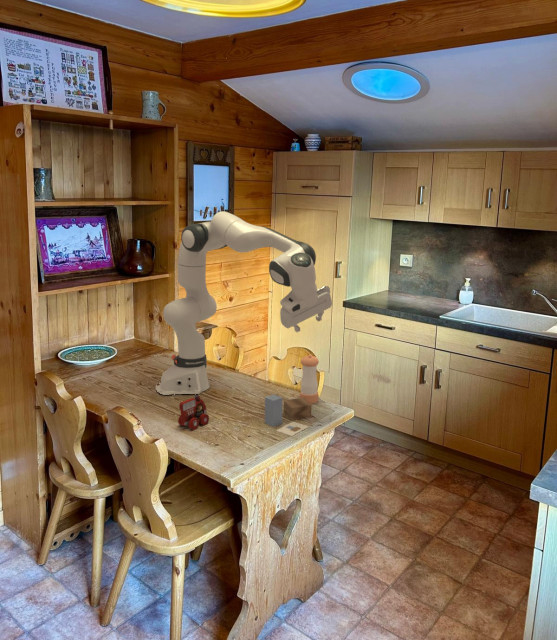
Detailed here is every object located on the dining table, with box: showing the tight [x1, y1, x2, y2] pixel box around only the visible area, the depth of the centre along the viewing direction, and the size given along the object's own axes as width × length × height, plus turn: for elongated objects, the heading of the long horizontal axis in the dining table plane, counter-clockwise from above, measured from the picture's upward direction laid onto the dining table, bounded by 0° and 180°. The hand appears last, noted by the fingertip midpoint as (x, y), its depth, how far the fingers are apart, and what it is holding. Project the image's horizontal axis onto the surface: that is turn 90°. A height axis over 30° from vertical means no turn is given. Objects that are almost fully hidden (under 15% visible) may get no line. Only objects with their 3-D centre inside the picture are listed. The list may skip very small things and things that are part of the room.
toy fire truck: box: [177, 394, 210, 431], centre depth 220 cm, size 7×12×10 cm, turn 143°
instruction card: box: [276, 420, 310, 437], centre depth 217 cm, size 10×7×1 cm
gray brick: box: [264, 393, 283, 428], centre depth 221 cm, size 4×4×10 cm
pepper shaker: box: [299, 354, 319, 405], centre depth 242 cm, size 7×7×19 cm
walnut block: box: [283, 397, 313, 421], centre depth 230 cm, size 8×8×5 cm
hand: (308, 325), depth 223 cm, fingers open, 8 cm apart
